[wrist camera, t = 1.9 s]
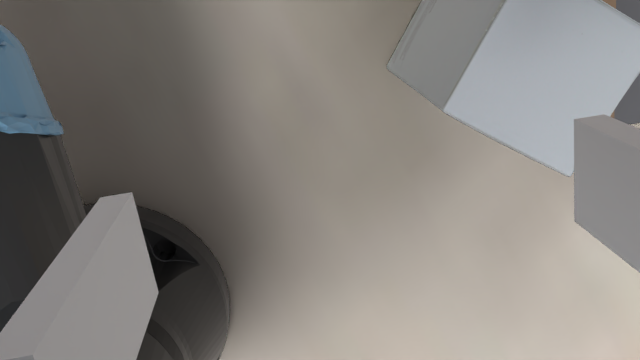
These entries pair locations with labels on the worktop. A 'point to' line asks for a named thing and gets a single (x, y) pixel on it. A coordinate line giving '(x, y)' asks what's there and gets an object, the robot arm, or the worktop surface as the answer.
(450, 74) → the supplement box
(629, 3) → the mat
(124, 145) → the worktop surface
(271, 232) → the worktop surface
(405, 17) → the worktop surface
